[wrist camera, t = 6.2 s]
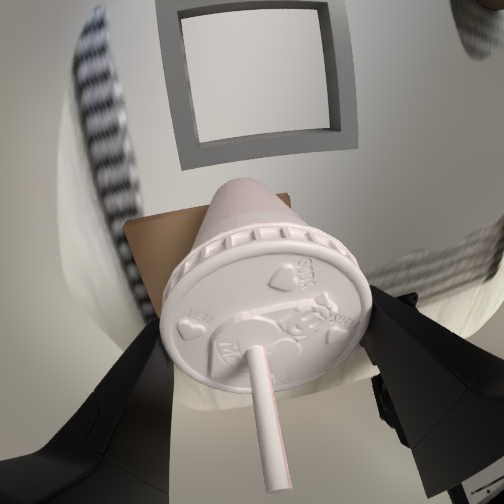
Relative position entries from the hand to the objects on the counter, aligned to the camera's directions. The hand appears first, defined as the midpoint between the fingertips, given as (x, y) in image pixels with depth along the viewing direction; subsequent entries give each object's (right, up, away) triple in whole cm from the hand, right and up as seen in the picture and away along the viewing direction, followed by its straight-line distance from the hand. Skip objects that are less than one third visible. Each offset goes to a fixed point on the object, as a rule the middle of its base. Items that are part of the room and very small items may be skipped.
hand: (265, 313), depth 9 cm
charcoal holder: (0, +14, +7) cm, 15 cm away
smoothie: (-1, +4, +7) cm, 9 cm away
